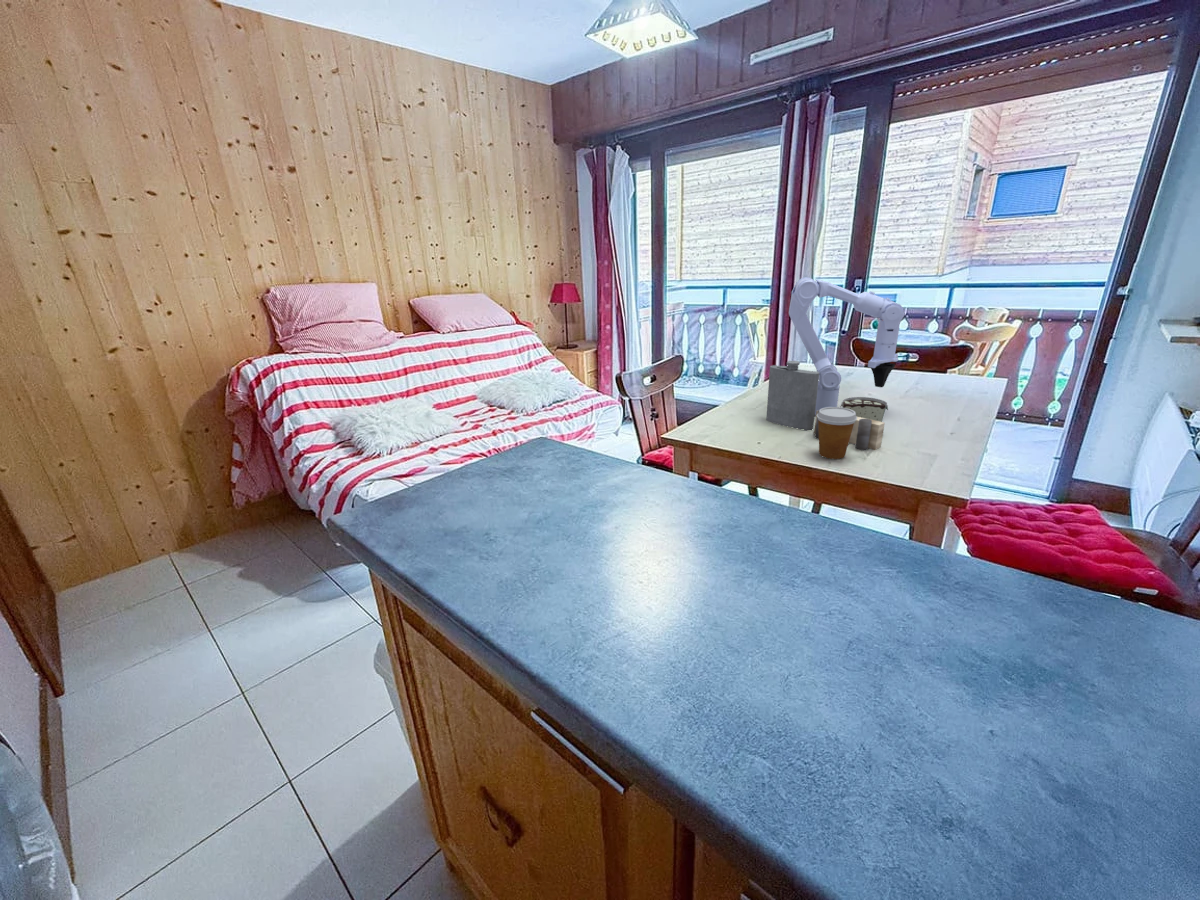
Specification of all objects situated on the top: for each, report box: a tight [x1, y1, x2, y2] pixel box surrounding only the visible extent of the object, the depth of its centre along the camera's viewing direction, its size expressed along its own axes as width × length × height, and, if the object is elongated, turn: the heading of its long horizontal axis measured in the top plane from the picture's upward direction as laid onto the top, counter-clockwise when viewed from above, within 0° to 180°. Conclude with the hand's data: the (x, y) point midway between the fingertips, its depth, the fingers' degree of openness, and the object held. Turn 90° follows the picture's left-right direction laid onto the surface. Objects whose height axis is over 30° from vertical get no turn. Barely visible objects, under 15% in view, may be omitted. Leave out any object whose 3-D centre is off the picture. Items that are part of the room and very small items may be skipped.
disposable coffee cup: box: [817, 406, 857, 460], centre depth 131 cm, size 10×10×12 cm
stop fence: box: [813, 410, 886, 451], centre depth 140 cm, size 18×6×8 cm, turn 37°
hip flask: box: [765, 360, 819, 431], centre depth 153 cm, size 16×4×20 cm, turn 38°
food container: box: [839, 396, 889, 422], centre depth 146 cm, size 12×6×10 cm, turn 74°
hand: (879, 386), depth 157 cm, fingers closed
